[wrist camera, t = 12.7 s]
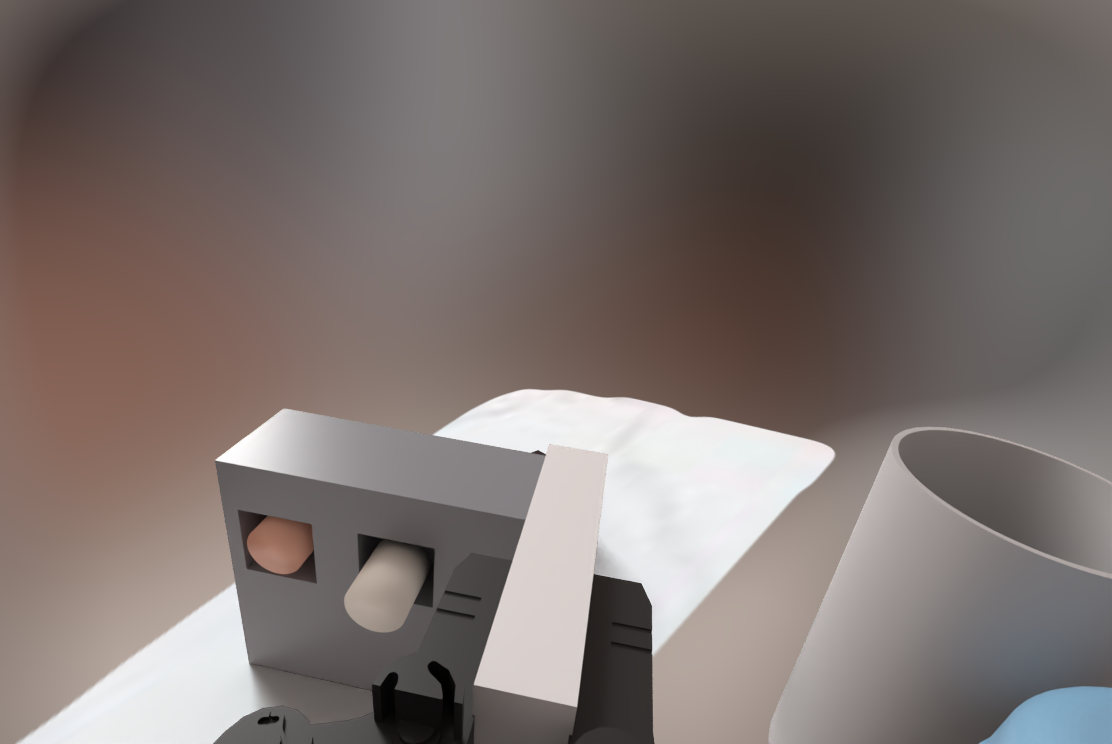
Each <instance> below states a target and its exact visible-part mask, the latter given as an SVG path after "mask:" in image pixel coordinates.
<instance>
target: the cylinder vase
mask: <svg viewBox="0 0 1112 744" xmlns="http://www.w3.org/2000/svg"><path fill="white" fill-rule="evenodd" d="M1080 686H1092V687H1108V688H1112V482H1110V481H1108V480H1106V479H1104V478H1102V477H1100V476H1098V475H1096V474H1094V473H1092V472H1090V471H1087V470H1085V469H1083V468H1081V467H1078V466H1076V465H1074V464H1072V463H1069V462H1067V461H1064V460H1062V459H1059V458H1057V457H1054V456H1052V455H1049V454H1047V453H1044V452H1041V451H1038V450H1036V449H1033V448H1030V447H1027V446H1024V445H1021V444H1018V443H1014V442H1011V441H1008V440H1004V439H1001V438H997V437H993V436H989V435H985V434H980V433H976V432H970V431H965V430H959V429H952V428H942V427H919V428H912V429H908V430H905V431H902V432H900V433H899V434H897V435H896V436H895V437H894V439H893V440H892V443H891V445H890V447H889V450H888V452H887V454H886V456H885V459H884V461H883V463H882V466H881V468H880V470H879V473H878V475H877V477H876V480H875V482H874V484H873V486H872V489H871V491H870V494H869V496H868V498H867V500H866V503H865V505H864V507H863V510H862V512H861V514H860V516H859V519H858V521H857V523H856V526H855V528H854V530H853V533H852V535H851V537H850V540H849V542H848V544H847V547H846V549H845V551H844V554H843V556H842V558H841V561H840V563H839V565H838V567H837V570H836V572H835V574H834V577H833V579H832V581H831V584H830V586H829V588H828V591H827V593H826V595H825V597H824V600H823V602H822V604H821V607H820V609H819V611H818V614H817V616H816V618H815V620H814V623H813V625H812V627H811V630H810V632H809V634H808V637H807V639H806V641H805V644H804V646H803V648H802V651H801V653H800V655H799V657H798V660H797V662H796V665H795V667H794V669H793V672H792V674H791V676H790V679H789V681H788V683H787V685H786V687H785V690H784V692H783V695H782V697H781V699H780V701H779V704H778V706H777V708H776V711H775V713H774V715H773V718H772V721H771V724H770V730H769V744H979V743H980V742H982V741H984V740H986V739H988V738H989V737H991V736H992V735H993V734H994V732H995V731H996V730H997V729H998V728H999V727H1000V726H1001V724H1002V723H1003V722H1004V721H1005V720H1006V719H1007V717H1008V716H1009V715H1010V714H1011V713H1012V712H1013V711H1014V709H1016V708H1017V707H1018V706H1019V705H1021V704H1022V703H1023V702H1025V701H1026V700H1028V699H1030V698H1032V697H1034V696H1036V695H1039V694H1041V693H1044V692H1046V691H1050V690H1055V689H1061V688H1069V687H1080Z"/></svg>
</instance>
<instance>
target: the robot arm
mask: <svg viewBox="0 0 1112 744" xmlns="http://www.w3.org/2000/svg"><path fill="white" fill-rule="evenodd" d="M607 460H608V454H605V453H599V452H593V451H587V450H581V449H575V448H569V447H563V446H557V445H551V444H549V447H548V450H547V453H546V457H545V460H544V463H543V466H542V469H541V472H540V476H539V479H538V482H537V485H536V488H535V491H534V495H533V498H532V501H531V504H530V507H529V510H528V514H527V517H526V520H525V523H524V526H523V529H522V533H521V536H520V539H519V542H518V545H517V549H516V552H515V555H514V558H513V560H507V559H502V558H497V557H492V556H486V555H481V554H476V553H471V554H470V555H469V556H468V557H467V558H466V559H464V560H463V561H462V562H461V563H460V564H459V565H458V566H457V567H456V568H455V569H454V570H453V573H452V575H451V577H450V579H449V582H448V584H447V586H446V589H445V592H444V595H442V598H441V600H440V602H439V604H438V607H437V610H436V613H434V616H433V618H432V620H431V622H430V625H429V627H428V629H427V631H426V634H425V636H424V638H423V640H422V643H421V645H420V647H419V649H418V652H415V653H412V654H409V655H405V656H402V657H399V658H397V659H396V660H395V661H393V662H392V663H390V664H389V665H388V666H386V667H385V668H383V670H382V671H381V672H380V674H379V675H378V676H377V678H376V679H375V680H374V682H373V683H372V694H373V708H374V712H372V713H370V714H368V715H366V716H363V717H360V718H356V719H351V720H346V721H338V722H331V723H323V724H315V725H310V723H309V720H308V719H307V718H306V717H305V716H304V715H303V714H302V713H301V712H300V711H299V710H296V709H292V708H289V707H285V706H276V707H267V708H262V709H260V710H258V711H255V712H253V713H251V714H249V715H246V716H244V717H243V718H241V719H240V720H239V721H238V722H236V723H235V724H234V725H233V726H231V727H230V728H229V729H228V730H226V731H225V732H224V733H223V734H222V735H221V736H220V737H219V738H218V739H217V740H216V741H215V742H214V743H213V744H654V737H653V704H652V702H653V700H652V605H651V603H650V601H649V599H648V597H647V595H646V592H645V590H644V588H643V586H642V584H641V583H637V582H632V581H626V580H621V579H616V578H610V577H605V576H600V575H595V574H594V566H595V557H596V549H597V541H598V533H599V525H600V517H601V509H602V501H603V492H604V484H605V476H606V468H607ZM979 744H1112V688H1108V687H1092V686H1080V687H1069V688H1061V689H1055V690H1050V691H1046V692H1044V693H1041V694H1039V695H1036V696H1034V697H1032V698H1030V699H1028V700H1026V701H1025V702H1023V703H1022V704H1021V705H1019V706H1018V707H1017V708H1016V709H1014V711H1013V712H1012V713H1011V714H1010V715H1009V716H1008V717H1007V719H1006V720H1005V721H1004V722H1003V723H1002V724H1001V726H1000V727H999V728H998V729H997V730H996V731H995V732H994V734H993V735H992V736H991V737H989V738H988V739H986V740H984V741H982V742H980V743H979Z"/></svg>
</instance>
